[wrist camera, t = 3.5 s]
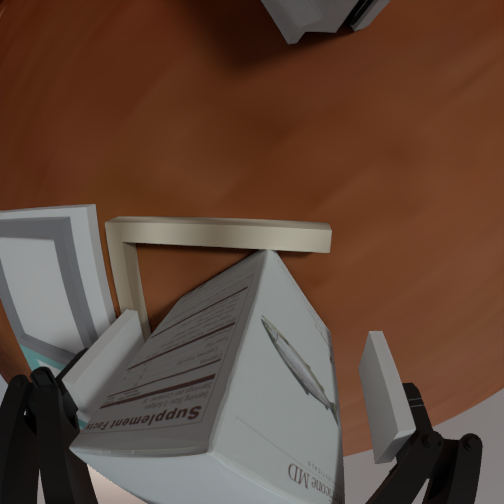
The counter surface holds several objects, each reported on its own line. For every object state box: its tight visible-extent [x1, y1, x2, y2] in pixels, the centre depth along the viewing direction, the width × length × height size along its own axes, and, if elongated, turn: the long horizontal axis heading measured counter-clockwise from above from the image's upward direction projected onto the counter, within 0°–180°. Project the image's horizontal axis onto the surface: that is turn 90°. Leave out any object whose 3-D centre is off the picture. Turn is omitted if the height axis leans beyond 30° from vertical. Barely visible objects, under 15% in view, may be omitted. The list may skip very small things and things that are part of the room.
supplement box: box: [69, 249, 345, 504], centre depth 12 cm, size 7×7×13 cm
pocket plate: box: [0, 204, 117, 430], centre depth 22 cm, size 18×30×2 cm, turn 0°
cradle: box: [105, 217, 332, 343], centre depth 17 cm, size 13×12×2 cm
